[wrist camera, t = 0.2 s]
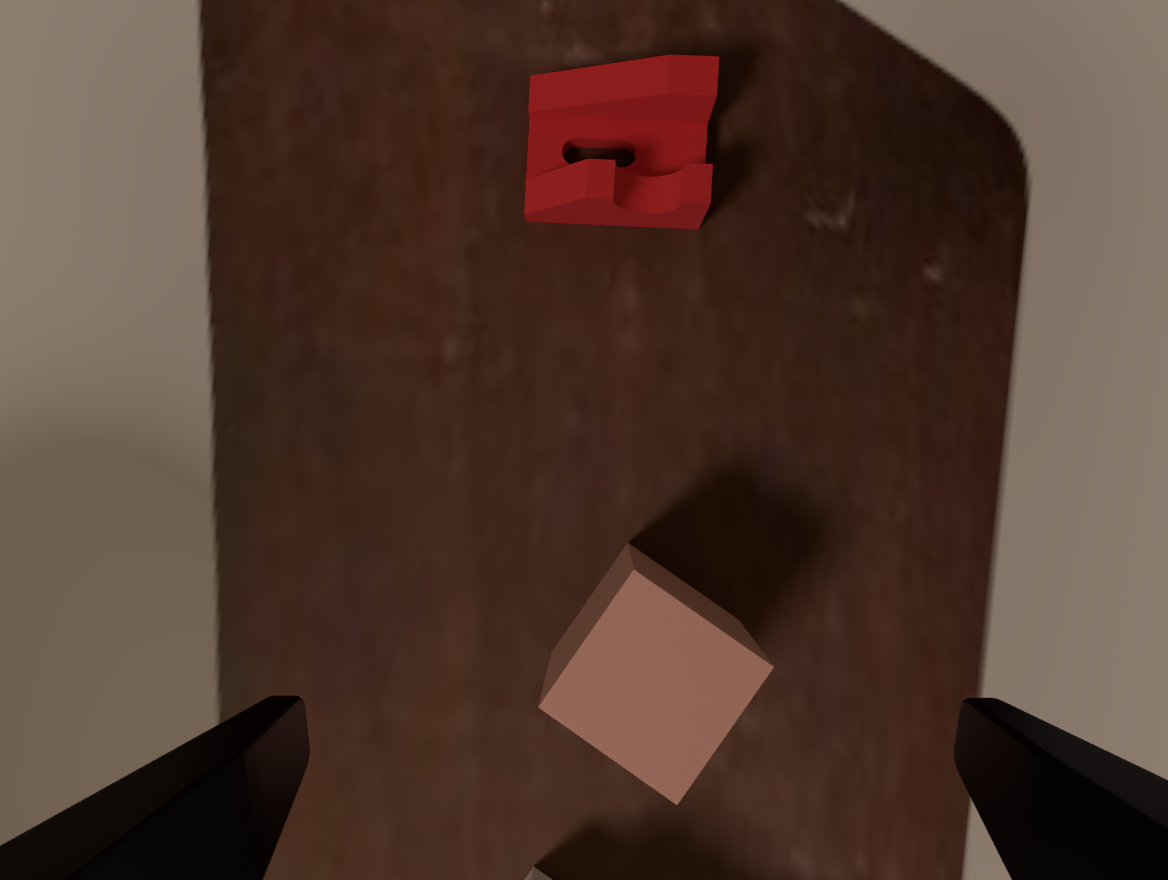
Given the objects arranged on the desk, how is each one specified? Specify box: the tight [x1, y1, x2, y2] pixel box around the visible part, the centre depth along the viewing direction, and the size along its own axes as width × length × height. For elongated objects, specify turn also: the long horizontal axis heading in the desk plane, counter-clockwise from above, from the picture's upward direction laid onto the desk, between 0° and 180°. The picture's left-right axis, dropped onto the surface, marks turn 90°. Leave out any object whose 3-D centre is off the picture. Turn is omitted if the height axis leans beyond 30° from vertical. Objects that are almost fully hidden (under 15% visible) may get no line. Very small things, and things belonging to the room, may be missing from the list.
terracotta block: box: [538, 543, 774, 805], centre depth 21 cm, size 5×5×5 cm
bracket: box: [524, 55, 719, 229], centre depth 23 cm, size 6×5×3 cm
